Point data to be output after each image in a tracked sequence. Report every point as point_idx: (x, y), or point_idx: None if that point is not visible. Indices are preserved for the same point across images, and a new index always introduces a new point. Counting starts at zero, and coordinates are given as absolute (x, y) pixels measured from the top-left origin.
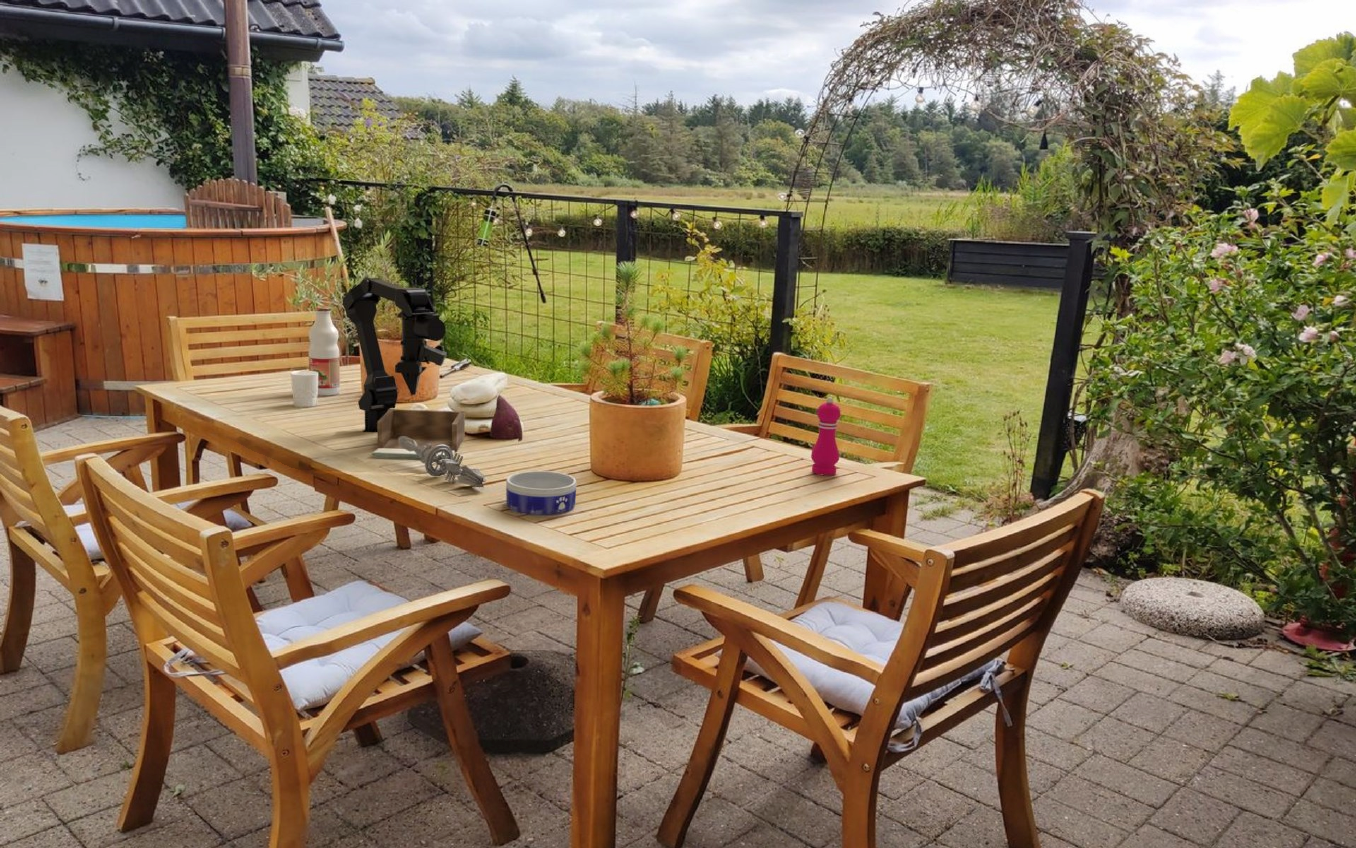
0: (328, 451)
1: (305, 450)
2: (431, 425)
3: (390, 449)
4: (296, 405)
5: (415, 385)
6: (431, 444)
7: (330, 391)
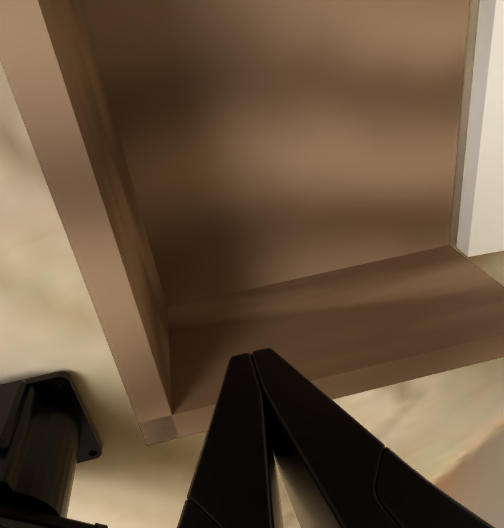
0: (434, 407)
1: (426, 463)
2: (96, 105)
3: (502, 194)
4: None
5: (357, 435)
6: (327, 13)
7: None
